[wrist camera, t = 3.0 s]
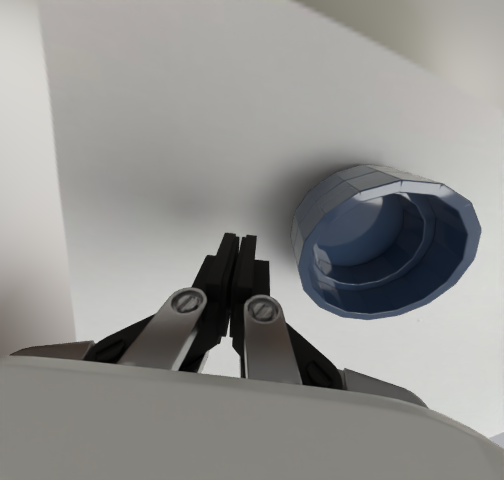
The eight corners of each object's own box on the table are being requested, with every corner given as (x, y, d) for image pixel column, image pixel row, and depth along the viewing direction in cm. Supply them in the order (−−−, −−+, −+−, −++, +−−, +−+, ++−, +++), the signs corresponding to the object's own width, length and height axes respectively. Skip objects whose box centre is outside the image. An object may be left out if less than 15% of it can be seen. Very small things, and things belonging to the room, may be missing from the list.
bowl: (303, 157, 13) (320, 171, 9) (441, 170, 13) (527, 191, 9) (282, 267, 18) (287, 311, 14) (385, 278, 18) (424, 326, 13)
